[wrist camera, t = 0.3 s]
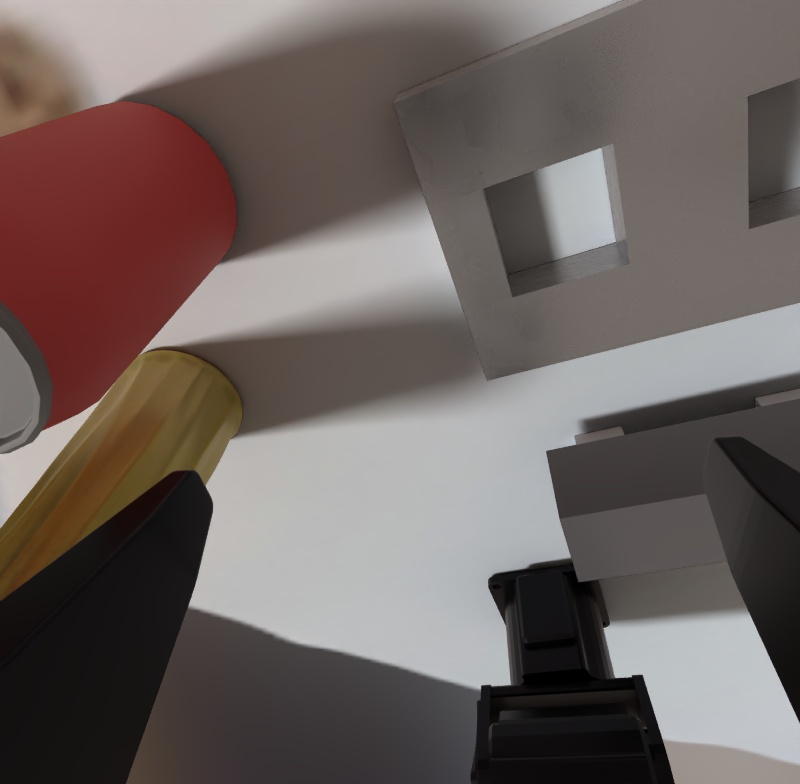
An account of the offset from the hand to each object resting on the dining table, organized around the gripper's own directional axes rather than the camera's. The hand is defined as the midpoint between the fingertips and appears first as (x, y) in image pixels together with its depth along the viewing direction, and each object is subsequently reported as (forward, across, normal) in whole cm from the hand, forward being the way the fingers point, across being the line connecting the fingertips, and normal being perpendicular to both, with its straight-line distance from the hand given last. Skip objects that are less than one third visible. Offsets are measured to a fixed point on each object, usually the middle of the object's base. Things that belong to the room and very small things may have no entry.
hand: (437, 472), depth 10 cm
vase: (+14, +14, +7) cm, 21 cm away
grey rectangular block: (+14, -10, +12) cm, 21 cm away
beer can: (+14, +11, -3) cm, 18 cm away
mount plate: (+14, -8, -1) cm, 16 cm away
